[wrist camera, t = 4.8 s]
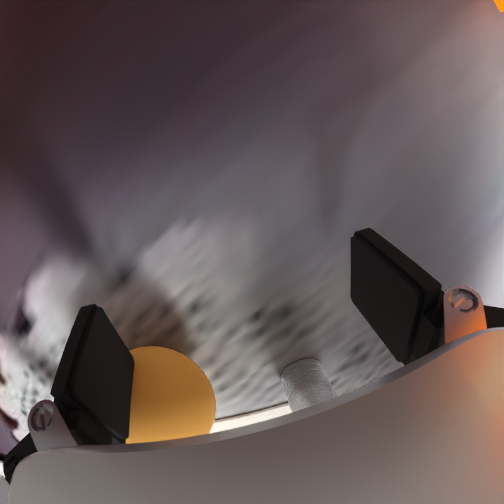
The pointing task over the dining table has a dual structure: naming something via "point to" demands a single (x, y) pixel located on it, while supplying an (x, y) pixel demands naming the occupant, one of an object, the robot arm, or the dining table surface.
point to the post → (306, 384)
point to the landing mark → (250, 418)
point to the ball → (168, 397)
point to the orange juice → (500, 5)
